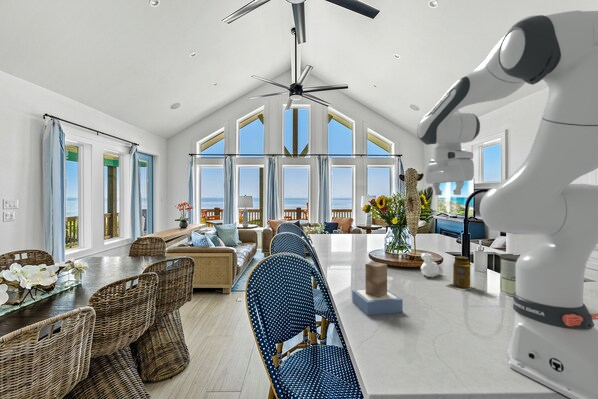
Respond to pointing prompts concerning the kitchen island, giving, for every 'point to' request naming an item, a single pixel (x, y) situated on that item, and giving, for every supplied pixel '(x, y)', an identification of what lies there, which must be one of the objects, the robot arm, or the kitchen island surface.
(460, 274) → the condiment
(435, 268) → the white rounded piece
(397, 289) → the kitchen island surface
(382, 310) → the pedestal
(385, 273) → the walnut block
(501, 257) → the coffee can
